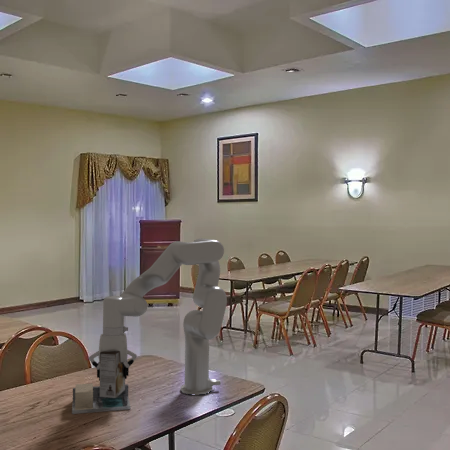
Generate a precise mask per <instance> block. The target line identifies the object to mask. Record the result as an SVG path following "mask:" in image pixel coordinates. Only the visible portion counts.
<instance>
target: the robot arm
mask: <svg viewBox="0 0 450 450" xmlns="http://www.w3.org/2000/svg"><path fill="white" fill-rule="evenodd" d="M224 253H225V248H224V245H223V244H222V243H221V242H220V241H219V240H216V239H209V238H196V239H195V240H194V241H190V242H187V241H180V240H179V241H178V240H177V241H173V242H171V243H170V244H169V245H168V246H167V247H166V248H165V250H164V251H162V253H161V254H160V256H158V258H157V259H156V260H155V261H154V263H153V264H152V265H151V266H150V267H149V268H148V269H146V271H144V272H143V273H142V274H140V275H139V276H137V277H136V278H134V279H133V280H132V281H131V282H130V283H129V285H127V286H126V287H125V289H124V290H123V292H122V293H121V294H120V295H119V296H118V295H112V296H111V295H110V296H106V297H104V299H103V301H102V302H103V304H102V333H101V334H100V336H99V341H98V342H99V343H98V350H97V351H96V352H94V353H92V354H91V355H89V356H88V360H89V362H90V363H91V365H92V366H93V367H94V368H95V369H96V378H97V379H98V381H99V382H100V352H109V351H120V359H121V363H122V362H123V363H124V365H125V366H124V378H125V380H127V379H128V378H127V377H129V371H130V370H129V368H130V367H131V366H132V364H133V363H134V362H135V360H136V359H137V357H138V355H137V354H136V353H135V352H133V351H131V350H129V349H128V341H127V340H128V339H127V334H126V333H125V332H127V331H129V327H128V326H125V317H132V318H135V317H136V318H137V317H141V316H143V315H145V313H146V312H147V311H148V307H149V306H148V303H147V301H146V299H145V298H144V296H145V295H146V294H147V293H148V292H150V291H152V290H153V289H155V288H159V287H162V286H163V285H166V284H167V283H168V282H169V281H170V280H171V279H172V278H173V276H174V275H175V274H176V272H177V271H178V270H179V269H180V268H181V266H182V265H184V266H185V265H186V266H194V265H198V274H197V275H198V276H197V278H196V282H195V286H194V291H193V294H192V300H193V301H192V302H193V303H194V305H196V306H197V307H198V308H199V307H200V308H201V309H202V310H198V309H194V310H190V311H189V312H187V313H186V314H185V316H184V317H183V318H184V319H183V323H182V325H183V327H182V328H183V334H184V384H183V385H181V386H180V392H181V391H182V392H181V393H183V394H185V393H186V394H185V395H188V394H195V395H194V396H200V395H199V394H205V395H207V394H206V393H208V392H210V391H211V390H212V391H213V386H221V380H220V379H219V380H216V378H215V379H213V378H212V379H211V378H210V377H209V376H210V373H209V372H210V340H213V339H215V338H216V337H217V336H218V335H219V333H220V331H221V329H222V325H223V320H224V318H225V314H226V309H227V304H228V296H227V294H226V292H225V290H224V289H223V288H221V287H220V286H219V281H220V276H221V265H220V262H219V261H220V260H221V259H222V258H223V257H224ZM128 355H129V356H130V359H129V360H128ZM97 357H98V362H97V361H96V360H95V358H97ZM210 393H211V392H210ZM208 394H209V393H208Z"/></svg>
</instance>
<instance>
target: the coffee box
mask: <svg viewBox="0 0 450 450" xmlns="http://www.w3.org/2000/svg"><path fill="white" fill-rule="evenodd" d="M124 366H125V365H124V363H123V362H122V363H121V359H120V351H109V352H100V381H99V386H100V397H109V398H116V397H117V396H119V395H120V394H121V393H122V392H123V391H124V390H125V384H126V379H125V378H124Z"/></svg>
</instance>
